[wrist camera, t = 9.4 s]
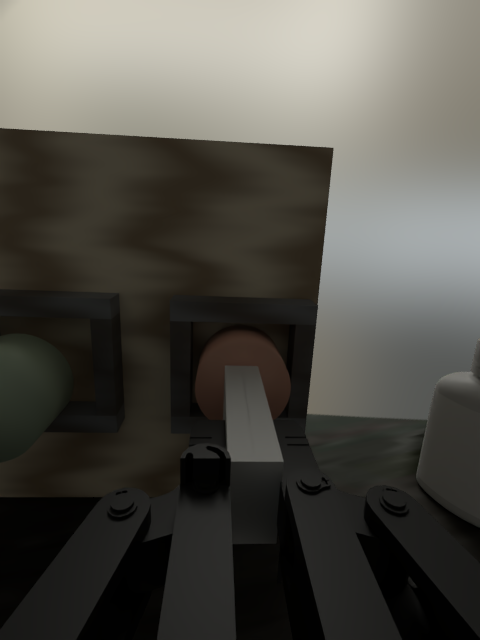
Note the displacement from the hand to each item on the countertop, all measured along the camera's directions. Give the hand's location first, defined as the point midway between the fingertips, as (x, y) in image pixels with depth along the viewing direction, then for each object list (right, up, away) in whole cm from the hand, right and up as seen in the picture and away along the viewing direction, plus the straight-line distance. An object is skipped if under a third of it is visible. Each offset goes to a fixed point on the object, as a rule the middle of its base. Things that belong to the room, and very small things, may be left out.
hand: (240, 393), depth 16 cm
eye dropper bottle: (+14, -8, +6) cm, 18 cm away
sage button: (-10, -2, -1) cm, 10 cm away
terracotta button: (0, -2, +2) cm, 3 cm away
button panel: (-10, -7, +7) cm, 14 cm away
